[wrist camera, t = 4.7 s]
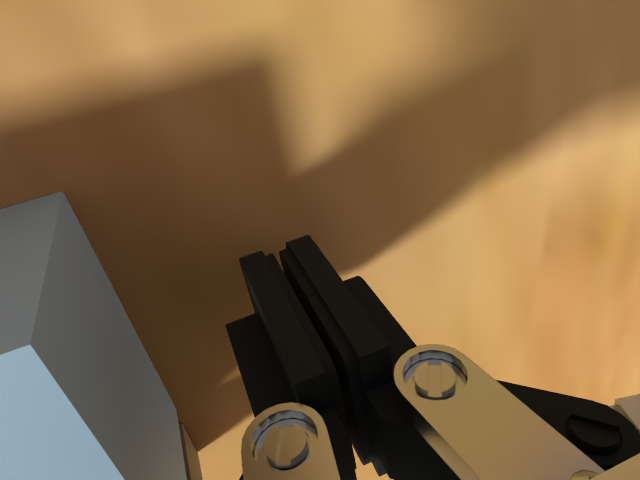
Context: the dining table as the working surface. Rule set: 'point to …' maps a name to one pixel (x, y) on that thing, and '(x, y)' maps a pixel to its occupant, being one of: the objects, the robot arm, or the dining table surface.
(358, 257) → the dining table surface
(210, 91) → the dining table surface
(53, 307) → the slate block
